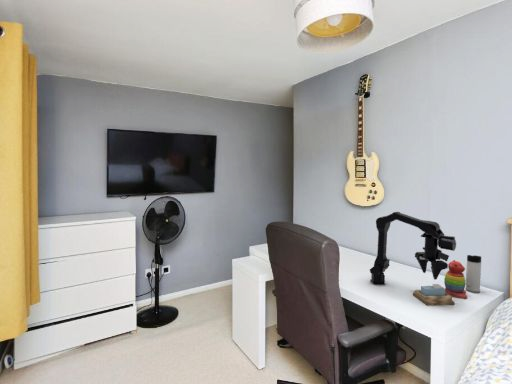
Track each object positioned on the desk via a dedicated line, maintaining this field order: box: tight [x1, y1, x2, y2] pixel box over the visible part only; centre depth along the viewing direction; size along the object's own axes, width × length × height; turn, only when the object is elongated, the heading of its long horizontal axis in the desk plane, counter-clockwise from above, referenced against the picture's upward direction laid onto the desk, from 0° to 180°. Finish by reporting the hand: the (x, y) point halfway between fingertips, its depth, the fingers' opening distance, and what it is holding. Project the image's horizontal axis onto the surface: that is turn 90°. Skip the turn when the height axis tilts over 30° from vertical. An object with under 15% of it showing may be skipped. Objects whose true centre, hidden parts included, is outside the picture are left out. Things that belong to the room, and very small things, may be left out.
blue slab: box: [420, 283, 445, 296], centre depth 149 cm, size 10×4×6 cm, turn 90°
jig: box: [412, 289, 455, 307], centre depth 150 cm, size 14×12×4 cm
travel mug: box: [465, 254, 482, 294], centre depth 159 cm, size 6×7×20 cm
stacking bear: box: [443, 259, 468, 300], centre depth 155 cm, size 11×10×18 cm
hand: (429, 275), depth 151 cm, fingers open, 9 cm apart
